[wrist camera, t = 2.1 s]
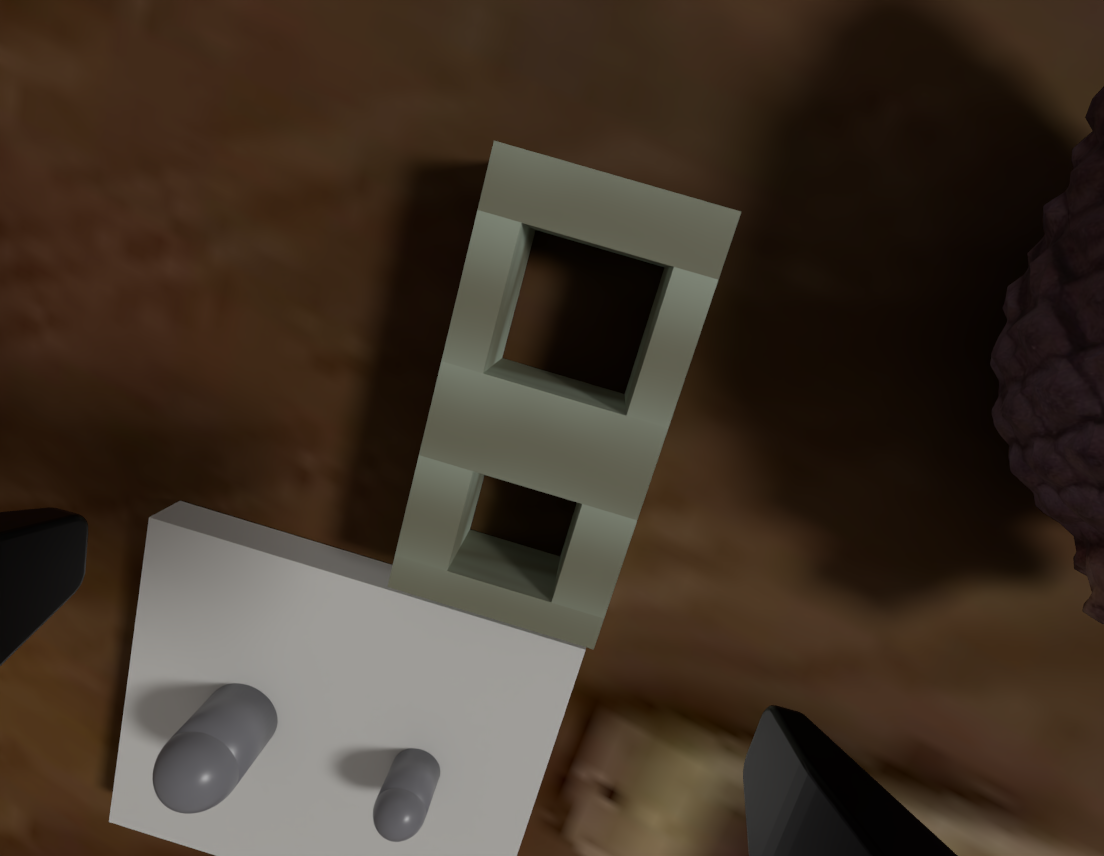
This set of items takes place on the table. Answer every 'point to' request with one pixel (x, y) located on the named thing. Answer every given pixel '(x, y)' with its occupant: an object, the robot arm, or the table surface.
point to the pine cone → (1062, 362)
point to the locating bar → (553, 398)
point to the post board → (324, 703)
